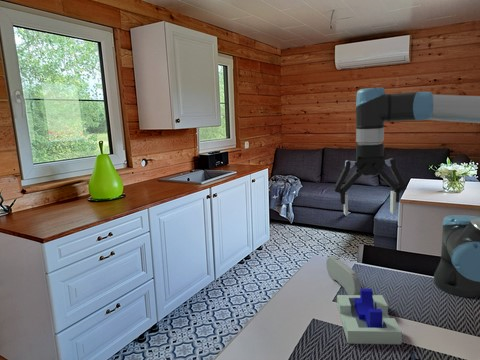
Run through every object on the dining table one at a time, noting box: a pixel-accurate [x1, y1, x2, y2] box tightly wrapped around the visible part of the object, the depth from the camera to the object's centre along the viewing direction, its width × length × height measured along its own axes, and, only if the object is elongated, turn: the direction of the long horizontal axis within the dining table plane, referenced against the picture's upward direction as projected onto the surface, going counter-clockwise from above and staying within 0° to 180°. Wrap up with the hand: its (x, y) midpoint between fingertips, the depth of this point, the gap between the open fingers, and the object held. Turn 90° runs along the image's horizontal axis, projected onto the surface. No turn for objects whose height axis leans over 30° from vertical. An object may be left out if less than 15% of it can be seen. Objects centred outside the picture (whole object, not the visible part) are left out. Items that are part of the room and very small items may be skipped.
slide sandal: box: [325, 254, 362, 295], centre depth 118 cm, size 20×2×8 cm, turn 13°
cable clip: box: [355, 288, 382, 328], centre depth 97 cm, size 12×4×6 cm, turn 173°
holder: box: [336, 294, 403, 345], centre depth 97 cm, size 13×18×4 cm
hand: (369, 213), depth 107 cm, fingers open, 13 cm apart
